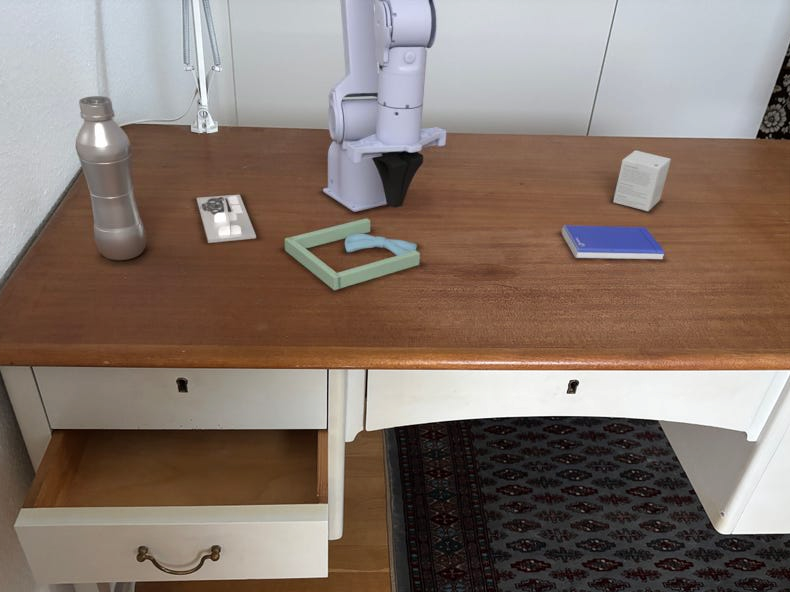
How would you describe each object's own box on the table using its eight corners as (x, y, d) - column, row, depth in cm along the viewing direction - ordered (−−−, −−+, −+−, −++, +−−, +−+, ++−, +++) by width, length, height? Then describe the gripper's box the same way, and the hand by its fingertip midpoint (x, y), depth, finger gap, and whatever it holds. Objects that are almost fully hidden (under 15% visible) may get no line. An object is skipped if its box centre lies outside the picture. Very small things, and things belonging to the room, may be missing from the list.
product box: (660, 201, 119) (672, 158, 114) (647, 212, 115) (660, 168, 110) (624, 191, 122) (635, 149, 117) (611, 202, 117) (621, 158, 113)
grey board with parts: (256, 238, 101) (254, 208, 99) (208, 242, 99) (205, 212, 97) (240, 197, 113) (238, 169, 110) (196, 200, 111) (193, 172, 108)
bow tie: (340, 241, 98) (349, 226, 102) (339, 252, 99) (348, 236, 103) (413, 251, 96) (419, 236, 100) (412, 262, 97) (418, 246, 101)
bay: (284, 250, 98) (284, 238, 97) (366, 229, 105) (366, 218, 104) (334, 290, 90) (334, 277, 89) (419, 265, 97) (420, 252, 96)
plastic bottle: (102, 270, 92) (70, 111, 80) (93, 248, 97) (61, 95, 85) (154, 261, 94) (129, 105, 83) (142, 240, 99) (117, 90, 88)
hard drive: (578, 249, 99) (665, 250, 100) (563, 223, 106) (644, 225, 107) (576, 259, 100) (662, 260, 101) (561, 233, 107) (642, 235, 108)
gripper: (370, 119, 83) (366, 226, 91) (465, 103, 90) (454, 204, 98) (337, 103, 88) (337, 206, 96) (430, 89, 95) (422, 186, 103)
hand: (394, 204), depth 97 cm, fingers closed
